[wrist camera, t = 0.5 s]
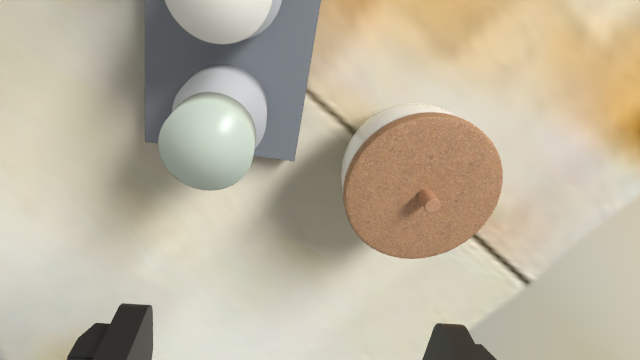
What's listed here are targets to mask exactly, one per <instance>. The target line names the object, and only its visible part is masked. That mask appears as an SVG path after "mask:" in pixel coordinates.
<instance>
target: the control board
mask: <svg viewBox="0 0 640 360" xmlns="http://www.w3.org/2000/svg"><path fill="white" fill-rule="evenodd" d="M320 3H321V0H272V4H271V7H270V10H269V12H268V15H267V17H266V19H265V20H264V22H263V24H262V25H261V26H260V27H259V28H258V30H257V31H255V32H254V33H253V34H252V35H250V36H249V37H247V38H246V39H244V40H242V41H239V42H236V43H231V44H213V43H209V42H206V41H203V40H200V39H198V38H196V37H195V36H193V35H191V34H190V33H188V32H187V31H186V30H185V29H184V28H182V27H181V26H180V24H179V23H178V22H177V21H176V20H175V18H174V17H173V16H172V14H171V12H170V11H169V9H168V7H167V5H166V2H165V0H145V142H152V143H158V140H159V134H160V130H161V128H162V126H163V124H164V122H165V121H166V120H167V118H168V117H169V116H170V115H171V113H172V112H173V111H174V110H175V109H176V107H177V106H178V105H179V104H180V103H181V102H182V101H183V100H185V99H186V98H188V97H190V96H192V95H194V94H197V93H202V92H217V93H222V94H225V95H228V96H230V97H232V98H234V99H235V100H237V101H238V102H239V103H241V104H242V105H243V106H244V107H245V108H246V109H247V111H248V112H249V114H250V115H251V117H252V119H253V121H254V124H255V128H256V143H255V149H254V155H253V156H258V157H266V158H274V159H281V160H289V161H294V160H295V154H296V148H297V142H298V136H299V130H300V124H301V118H302V112H303V106H304V99H305V93H306V87H307V81H308V75H309V69H310V63H311V57H312V51H313V45H314V39H315V33H316V27H317V21H318V15H319V9H320Z"/></svg>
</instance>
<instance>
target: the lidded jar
mask: <svg viewBox="0 0 640 360" xmlns="http://www.w3.org/2000/svg"><path fill="white" fill-rule="evenodd" d="M341 180H342V190H343V200H344V205H345V211H346V214H347V217H348V219H349V222H350V225H351V226H352V228H353V229H354V231H355V233H356V234H357V235H358V236H359V237H360V238H361V239H362V241H364V242H365V243H366V244H367V245H369V246H370V247H371V248H373V249H375V250H377V251H379V252H381V253H384V254H386V255H389V256H394V257H399V258H410V259H415V258H426V257H431V256H435V255H439V254H442V253H445V252H447V251H449V250H451V249H453V248H455V247H457V246H459V245H461V244H462V243H464V242H465V241H467V240H468V239H469V238H471V237H472V236H473V235H474V234H475V233H476V232H477V231H478V230H479V229H480V228H481V227H482V226H483V225H484V224H485V223H486V221H487V220H488V218H489V217H490V216H491V214H492V212H493V210H494V208H495V207H496V205H497V202H498V199H499V196H500V193H501V187H502V165H501V160H500V157H499V155H498V152H497V150H496V148H495V146H494V145H493V143H492V142H491V140H490V139H489V138H488V137H487V136H486V135H485V134H484V133H483V132H482V131H481V130H480V129H478V128H477V127H475V126H474V125H473V124H471V123H470V122H468V121H466V120H464V119H462V118H460V117H459V116H457V115H456V114H453V113H451V112H449V111H447V110H445V109H442V108H440V107H436V106H433V105H428V104H419V103H406V104H400V105H395V106H392V107H389V108H386V109H384V110H382V111H380V112H378V113H376V114H375V115H373V116H372V117H370V118H369V119H368V120H366V121H365V122H364V123H363V124H362V125H361V126H360V127H359V128H358V129H357V131H356V132H355V134H354V135H353V136H352V138H351V140H350V142H349V144H348V146H347V148H346V151H345V154H344V158H343V163H342V169H341Z"/></svg>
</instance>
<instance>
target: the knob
mask: <svg viewBox="0 0 640 360" xmlns="http://www.w3.org/2000/svg"><path fill="white" fill-rule="evenodd" d="M255 143H256V128H255V124H254V121H253V119H252V117H251V115H250V114H249V112H248V111H247V109H246V108H245V107H244V106H243V105H242V104H241V103H239V102H238V101H237V100H235V99H234V98H232V97H230V96H228V95H225V94H222V93H217V92H202V93H197V94H194V95H192V96H190V97H188V98H186V99H185V100H183V101H182V102H181V103H180V104H179V105H178V106H177V107H176V109H175V110H174V111H173V112H172V113H171V115H170V116H169V117H168V118H167V120H166V121H165V122H164V124H163V126H162V128H161V130H160V134H159V140H158V147H159V153H160V156H161V159H162V161H163V163H164V165H165V167H166V168H167V170H168V171H169V172H170V173H171V174H172V175H173V176H174V177H175V178H176V179H178V180H179V181H180V182H182V183H184V184H186V185H188V186H190V187H193V188H196V189H201V190H219V189H224V188H227V187H229V186H231V185H233V184H235V183H237V182H238V181H239V180H240V179H242V178H243V177H244V175H245V174H246V173H247V171H248V170H249V168H250V166H251V163H252V160H253V155H254V149H255Z"/></svg>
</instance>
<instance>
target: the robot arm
mask: <svg viewBox="0 0 640 360" xmlns="http://www.w3.org/2000/svg"><path fill="white" fill-rule="evenodd" d="M152 353H153V311H152V306H151V305H139V304H121V305H120V306H119V308H118V310H117V312H116V314H115V316H114V318H113V320H112V322H111V324H104V323H95V324H94V325H93V326H92V327H91V328H89V329H88V330H87V331H86V332H85V333H84V334H82V335H81V336H80V337H79V338H78V339H77V341H76V343H75V345H74V346H73V348H72V350H71V352H70V353H69V355H68V358H67V360H151V359H152ZM423 360H496V359H495V358H494V357H493V356H492V355H491V354H490V353H489V352H488V351H487V350H486V349H485V348H484V347H483V346H482V345H481V344H480V345H479V344H475V343H474V341H473V339H472V337H471V335H470V334H469V332H468V330H467V328H466V327H465V326H464V325H458V324H441V323H438V324H436V325H435V327H434V329H433V332H432V335H431V337H430V340H429V343H428V346H427V349H426V351H425V354H424V357H423Z"/></svg>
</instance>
